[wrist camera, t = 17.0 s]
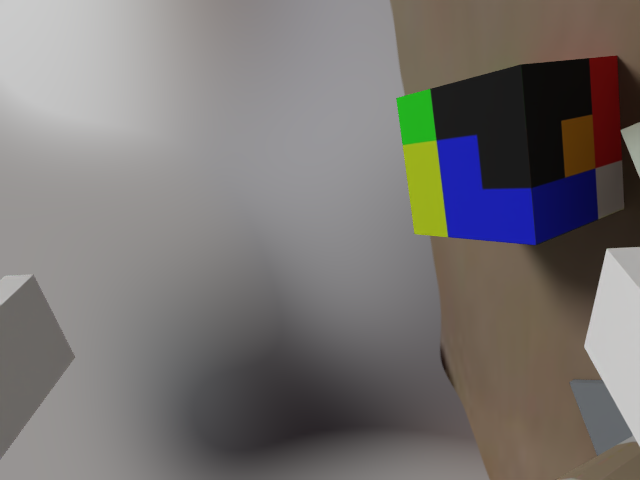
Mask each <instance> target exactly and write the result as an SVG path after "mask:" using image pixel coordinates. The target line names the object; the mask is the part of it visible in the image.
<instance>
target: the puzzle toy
mask: <svg viewBox="0 0 640 480" xmlns="http://www.w3.org/2000/svg"><path fill="white" fill-rule="evenodd" d="M397 106H398V114H399V121H400V128H401V136H402V143H403V151H404V157H405V158H404V159H405V166H406V174H407V181H408V188H409V196H410V203H411V211H412V218H413V226H414V233H415V234H420V235H431V236H441V237H452V238H463V239H474V240H485V241H496V242H507V243H517V244H528V245H538V244H540V243H543V242H545V241H547V240H550V239H552V238H555V237H557V236H560V235H562V234H565V233H567V232H569V231H572V230H574V229H577V228H579V227H582V226H584V225H586V224H589V223H591V222H594V221H596V220H599V219H601V218H603V217H606V216H608V215H611V214H613V213H616V212H618V211H620V210H623V209H624V192H623V171H622V149H621V131H620V130H621V127H620V106H619V84H618V62H617V56H609V57H598V58H587V59H576V60H566V61H555V62H544V63H533V64H522V65H518V66H514V67H510V68H507V69H503V70H499V71H495V72H492V73H488V74H484V75H481V76H477V77H473V78H469V79H466V80H462V81H458V82H455V83H451V84H447V85H443V86H440V87H436V88H432V89H428V90H425V91H421V92H417V93H414V94H410V95H406V96H403V97H399V98H397Z"/></svg>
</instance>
